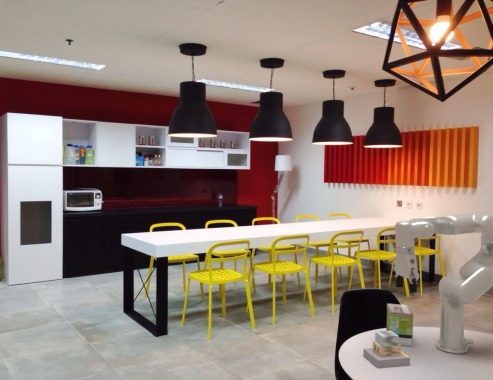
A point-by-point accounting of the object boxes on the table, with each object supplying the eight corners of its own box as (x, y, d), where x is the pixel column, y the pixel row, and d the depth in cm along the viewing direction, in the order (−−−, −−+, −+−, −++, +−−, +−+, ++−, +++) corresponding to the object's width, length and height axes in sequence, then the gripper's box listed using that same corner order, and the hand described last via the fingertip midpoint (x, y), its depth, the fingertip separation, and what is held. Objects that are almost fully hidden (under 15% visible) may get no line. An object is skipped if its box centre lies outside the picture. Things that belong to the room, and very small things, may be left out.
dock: (393, 353, 187) (393, 346, 187) (410, 365, 175) (410, 357, 175) (363, 355, 184) (363, 348, 184) (377, 368, 172) (378, 360, 172)
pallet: (392, 349, 183) (392, 330, 183) (400, 355, 178) (400, 335, 177) (372, 351, 181) (373, 331, 181) (380, 356, 176) (380, 337, 175)
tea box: (413, 346, 195) (413, 313, 194) (389, 344, 197) (389, 312, 196) (407, 334, 209) (408, 304, 209) (385, 333, 211) (386, 302, 211)
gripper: (425, 252, 181) (426, 294, 181) (401, 246, 198) (402, 284, 198) (409, 254, 179) (410, 296, 180) (386, 247, 196) (387, 286, 196)
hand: (406, 289), depth 189 cm, fingers open, 9 cm apart
